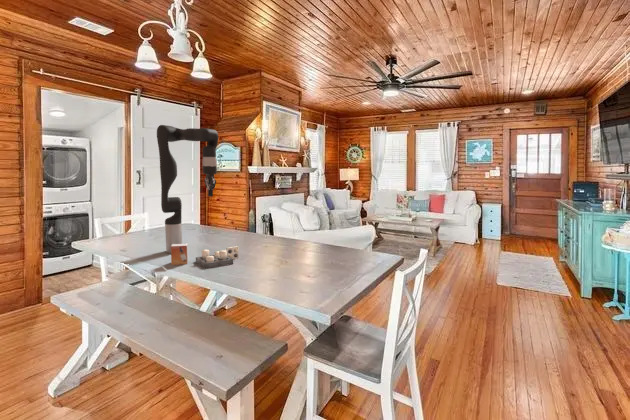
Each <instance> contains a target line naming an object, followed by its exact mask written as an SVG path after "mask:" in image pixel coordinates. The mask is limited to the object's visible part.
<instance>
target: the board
mask: <svg viewBox="0 0 630 420" xmlns="http://www.w3.org/2000/svg"><path fill="white" fill-rule="evenodd" d="M209 256H214V262H208V263H207V262H206V259H202V256H197V257H195V263H196V264H198V265H200V266H201V267H203V268H205V269H211V268H216V267H221V266H228V265H232V264H233V265H234V259H232V258H230V257H228V256H227V259H226V260H219V257H216V258H215V254H209Z"/></svg>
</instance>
